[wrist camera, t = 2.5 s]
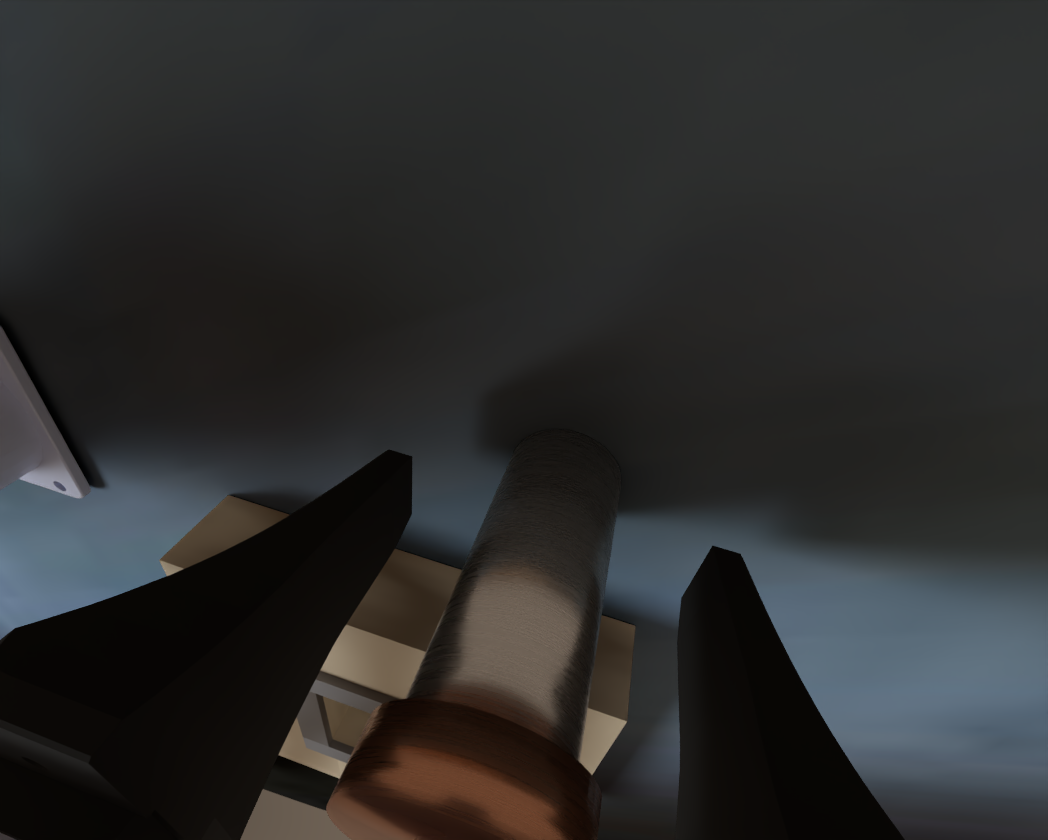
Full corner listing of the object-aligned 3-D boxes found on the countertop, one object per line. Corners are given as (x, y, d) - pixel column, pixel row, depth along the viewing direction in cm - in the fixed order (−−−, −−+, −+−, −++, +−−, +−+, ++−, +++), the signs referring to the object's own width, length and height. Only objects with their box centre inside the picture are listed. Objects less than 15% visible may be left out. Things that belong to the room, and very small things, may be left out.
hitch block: (288, 684, 27) (246, 750, 24) (227, 495, 18) (151, 567, 15) (552, 781, 25) (537, 863, 23) (635, 625, 16) (626, 732, 14)
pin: (490, 503, 15) (338, 846, 8) (505, 399, 12) (311, 763, 6) (616, 540, 14) (559, 935, 8) (656, 440, 12) (624, 884, 5)
